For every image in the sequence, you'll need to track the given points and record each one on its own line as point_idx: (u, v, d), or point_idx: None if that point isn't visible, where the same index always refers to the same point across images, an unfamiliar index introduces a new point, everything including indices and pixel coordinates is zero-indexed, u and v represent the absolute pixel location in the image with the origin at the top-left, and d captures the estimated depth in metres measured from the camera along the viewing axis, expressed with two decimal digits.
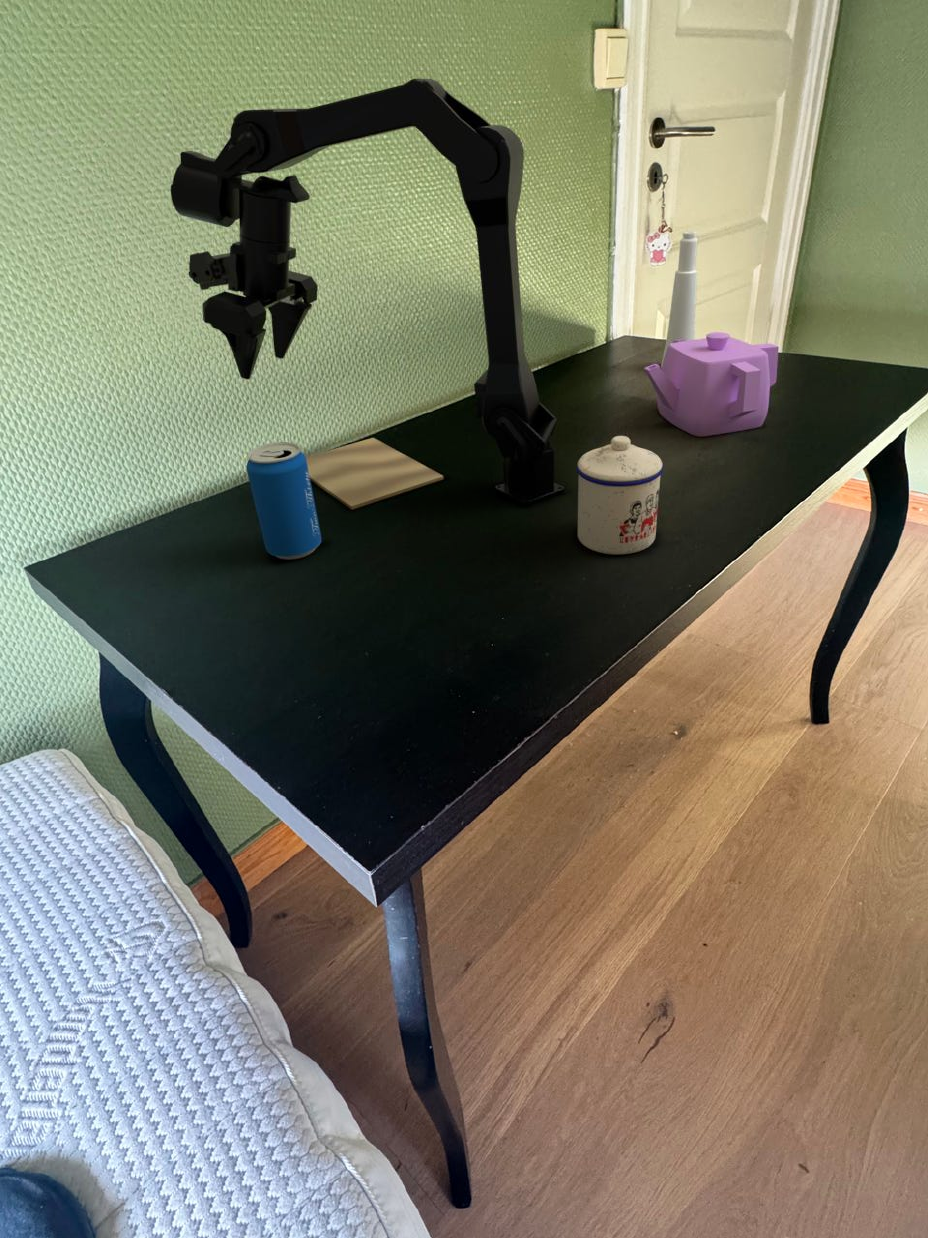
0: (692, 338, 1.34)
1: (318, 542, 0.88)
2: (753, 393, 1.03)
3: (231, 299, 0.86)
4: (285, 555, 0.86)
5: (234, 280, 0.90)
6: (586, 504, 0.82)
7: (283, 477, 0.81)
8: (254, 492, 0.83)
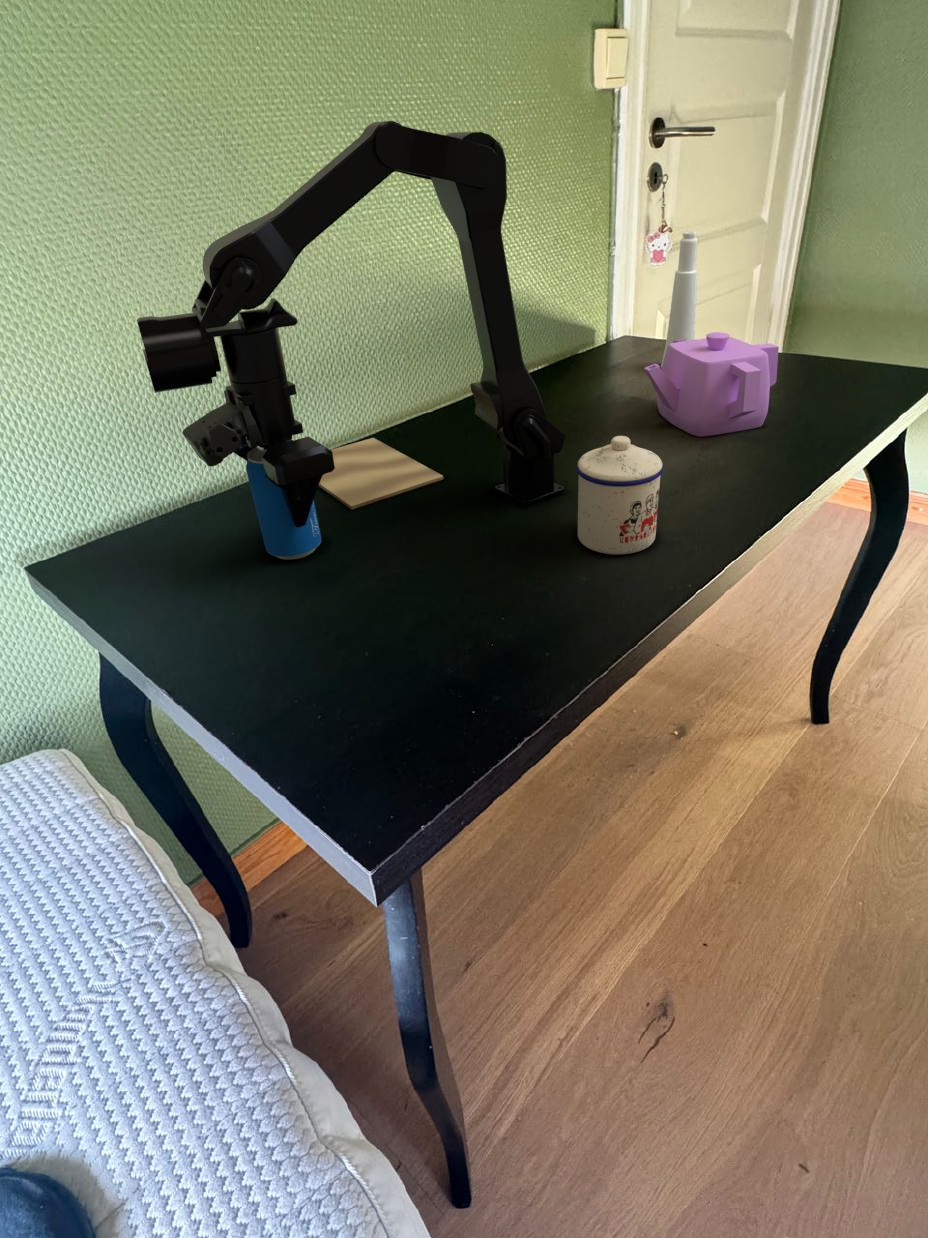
0: (692, 338, 1.34)
1: (318, 542, 0.88)
2: (753, 393, 1.03)
3: (296, 447, 0.75)
4: (285, 555, 0.86)
5: (256, 434, 0.77)
6: (586, 504, 0.82)
7: None
8: (254, 492, 0.83)
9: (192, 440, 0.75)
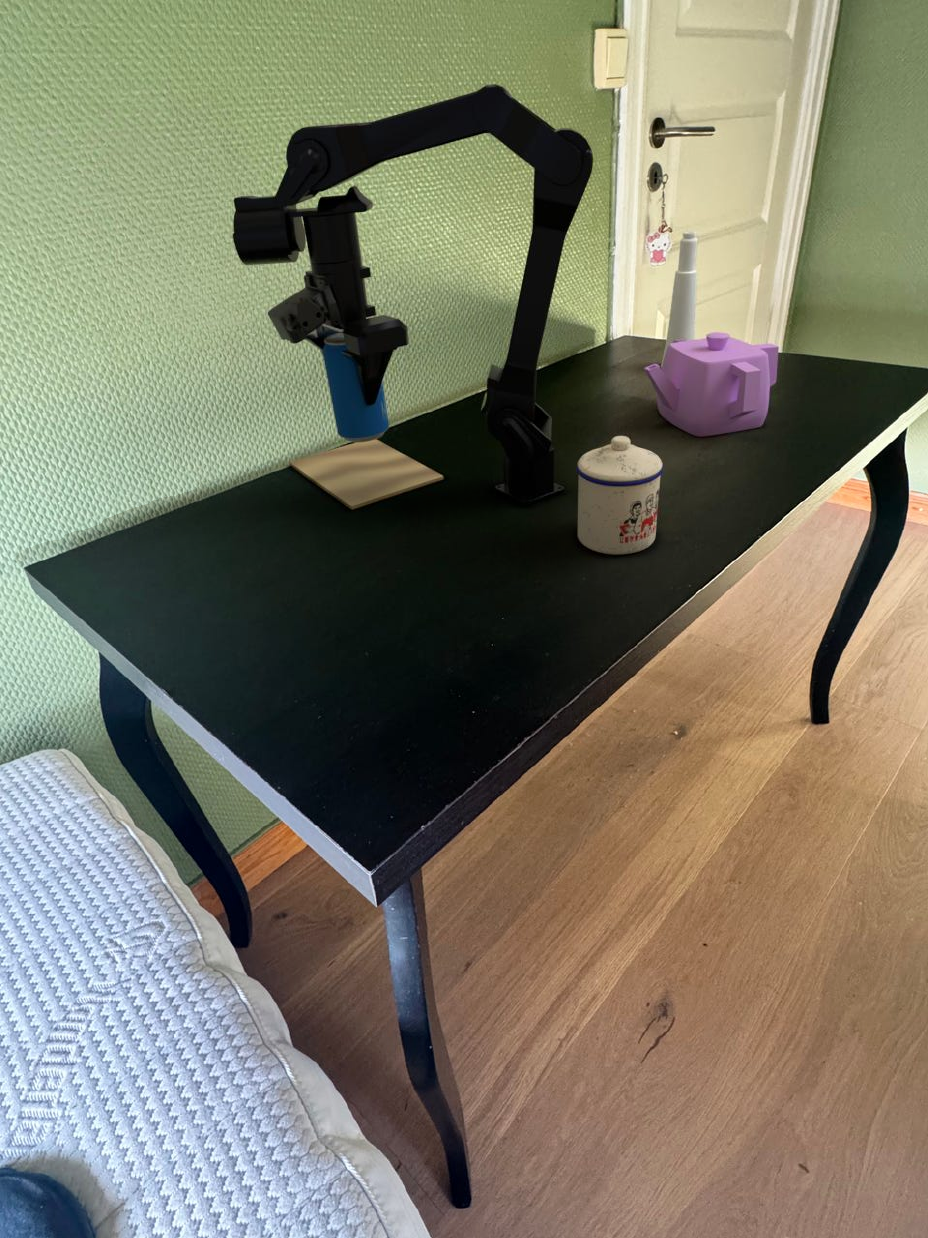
0: (692, 338, 1.34)
1: (387, 426, 0.94)
2: (753, 393, 1.03)
3: (374, 321, 0.82)
4: (358, 437, 0.93)
5: (336, 313, 0.84)
6: (586, 505, 0.82)
7: None
8: (330, 375, 0.90)
9: (279, 317, 0.82)
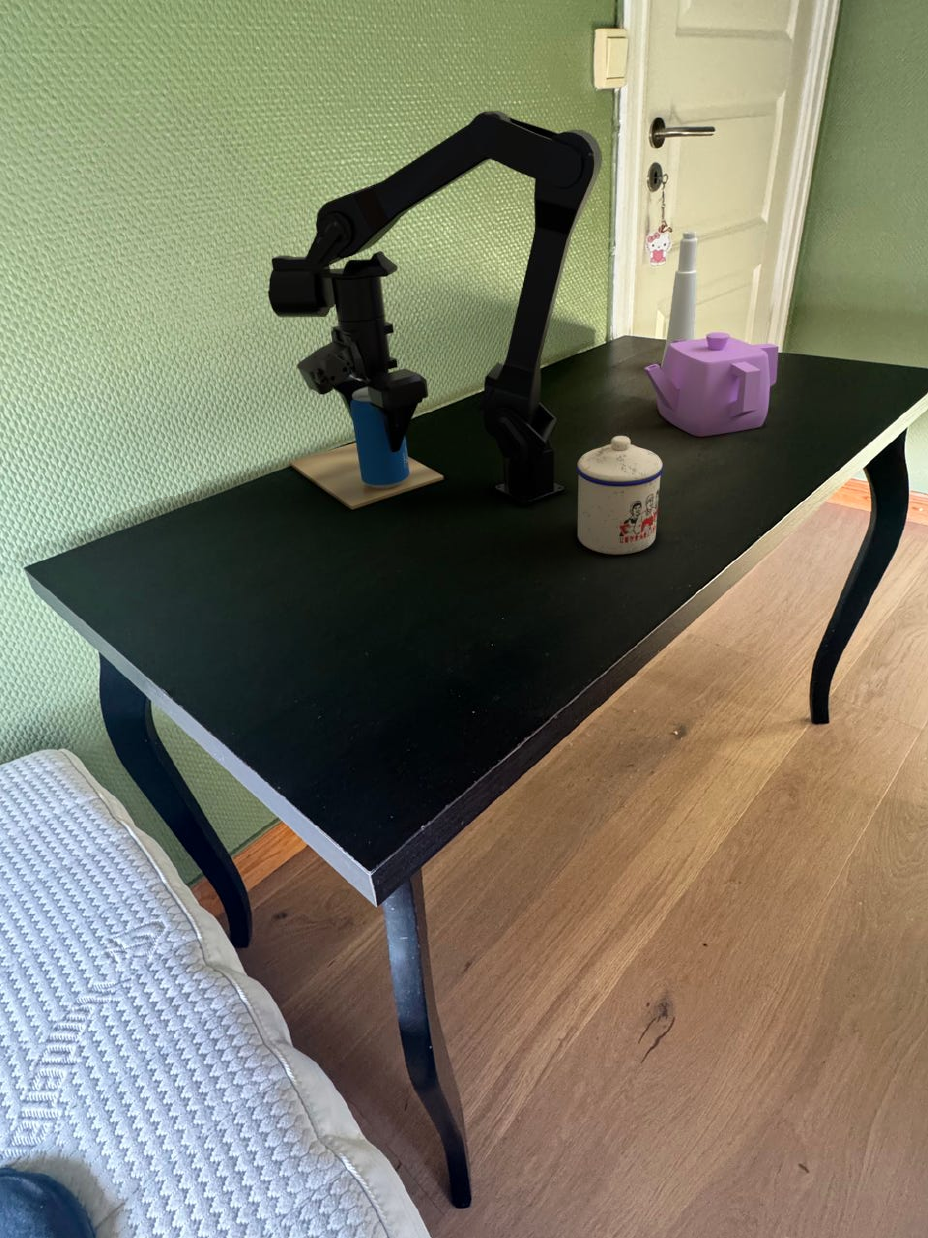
0: (692, 338, 1.34)
1: (407, 474, 1.01)
2: (753, 393, 1.03)
3: (396, 376, 0.88)
4: (380, 484, 0.99)
5: (361, 366, 0.90)
6: (586, 504, 0.82)
7: None
8: (357, 428, 0.96)
9: (308, 371, 0.89)
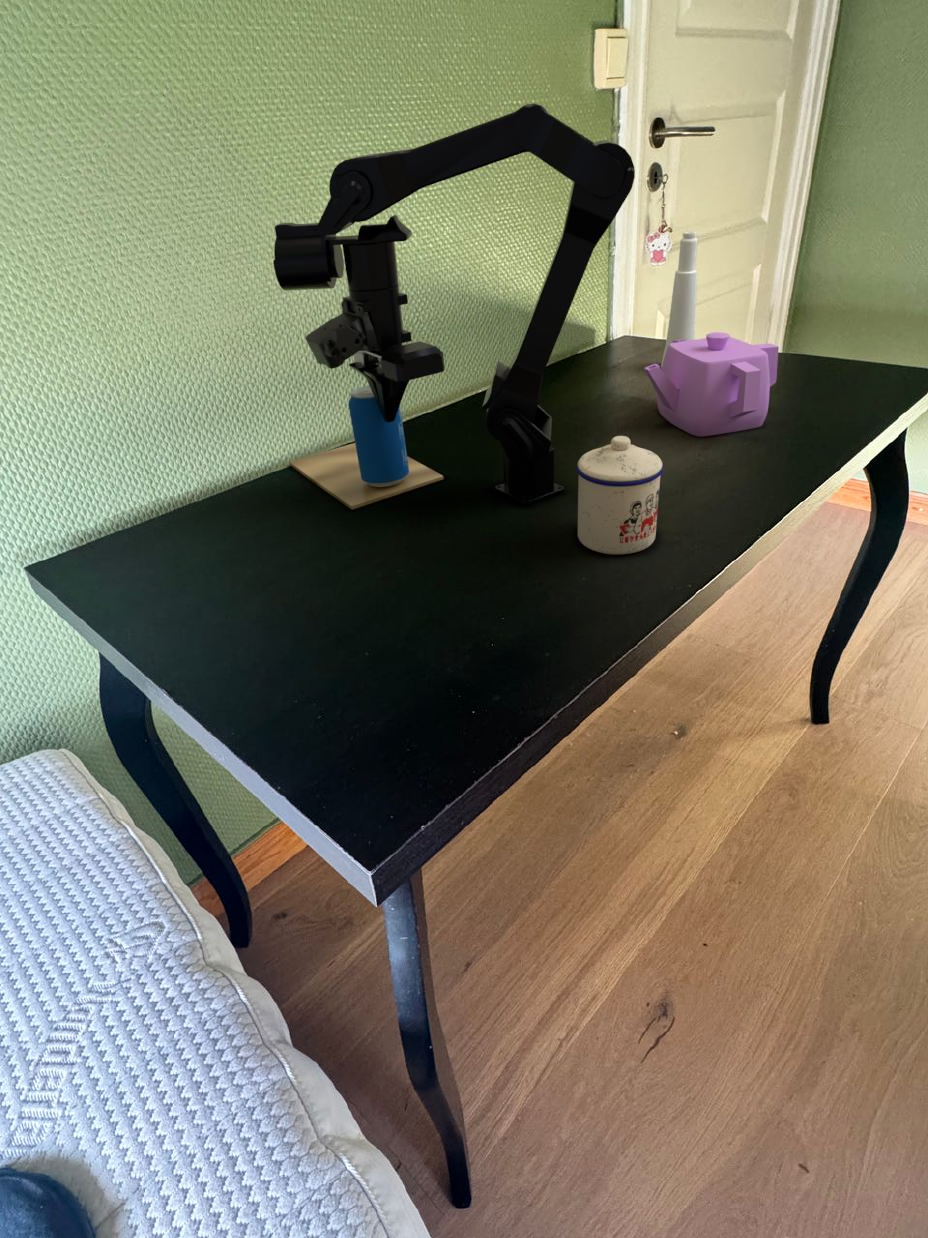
0: (692, 338, 1.34)
1: (407, 472, 1.01)
2: (753, 393, 1.03)
3: (412, 348, 0.83)
4: (380, 482, 0.99)
5: (373, 339, 0.85)
6: (586, 504, 0.82)
7: None
8: (355, 425, 0.97)
9: (318, 342, 0.83)
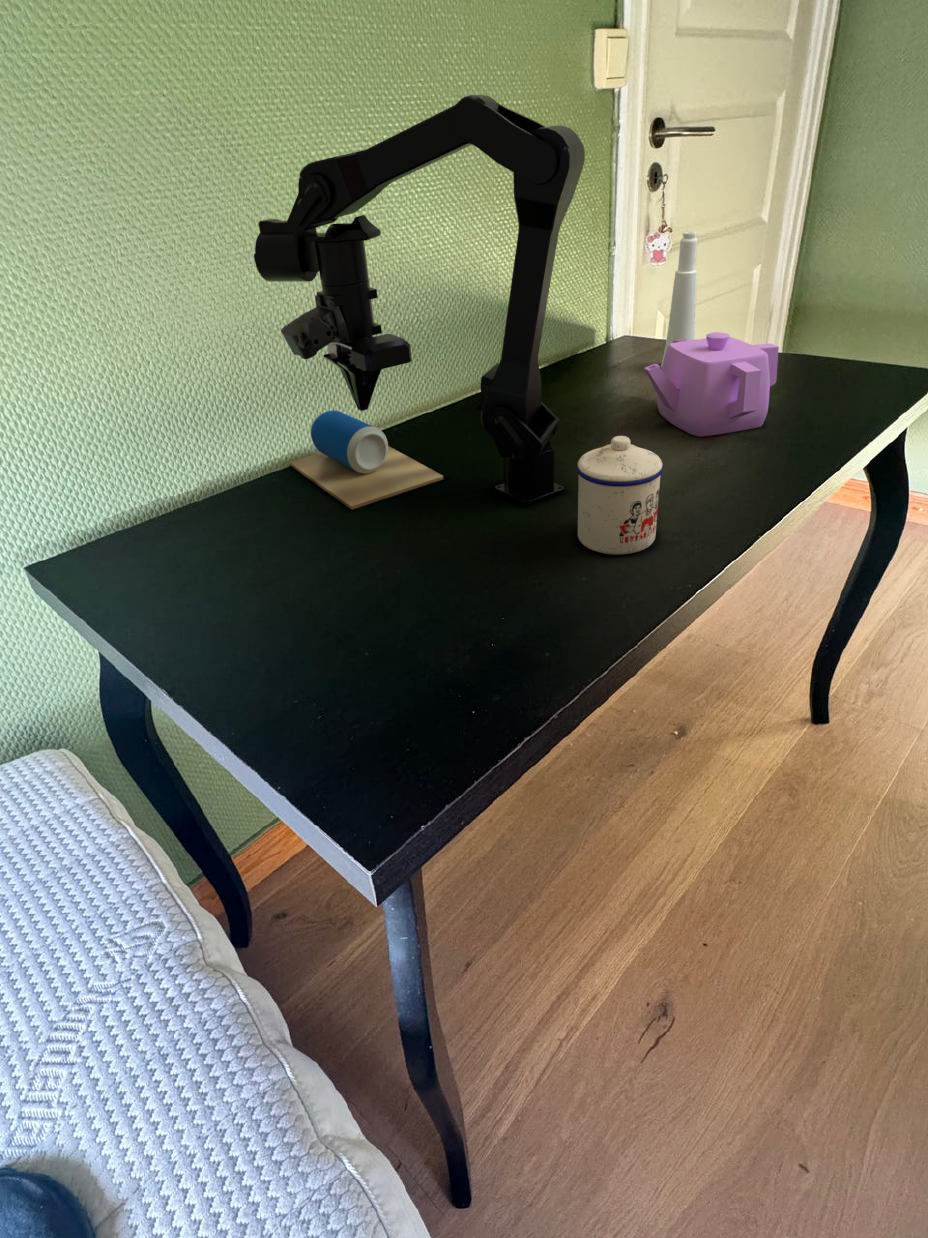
0: (692, 338, 1.34)
1: None
2: (753, 393, 1.03)
3: (380, 340, 0.89)
4: (351, 437, 1.01)
5: (344, 331, 0.91)
6: (586, 504, 0.82)
7: (326, 413, 1.08)
8: (320, 441, 1.07)
9: (292, 334, 0.89)
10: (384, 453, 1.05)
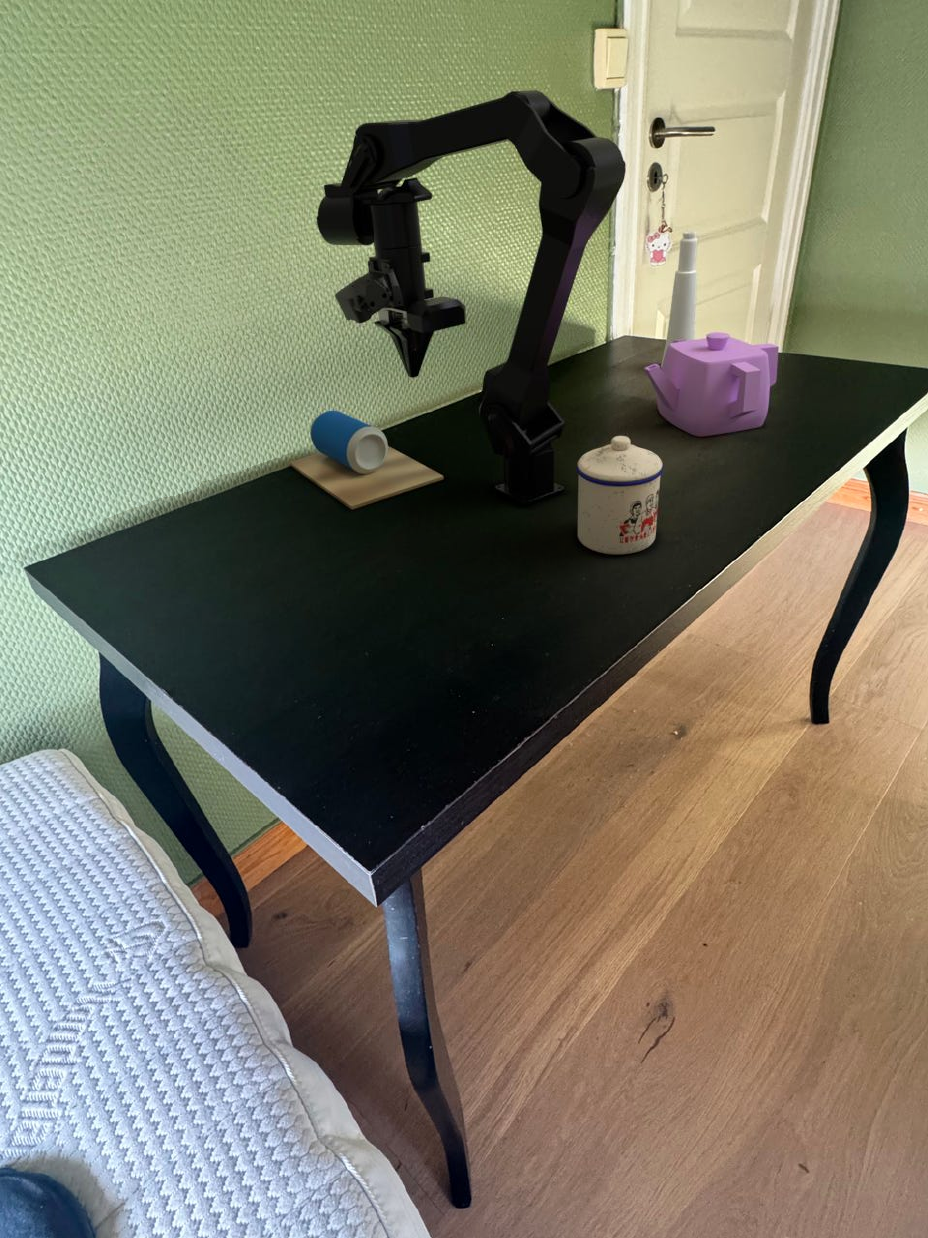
0: (692, 338, 1.34)
1: None
2: (753, 393, 1.03)
3: (435, 301, 0.89)
4: (350, 437, 1.01)
5: (399, 294, 0.91)
6: (586, 504, 0.82)
7: (325, 413, 1.08)
8: (320, 442, 1.07)
9: (347, 298, 0.89)
10: (384, 453, 1.05)
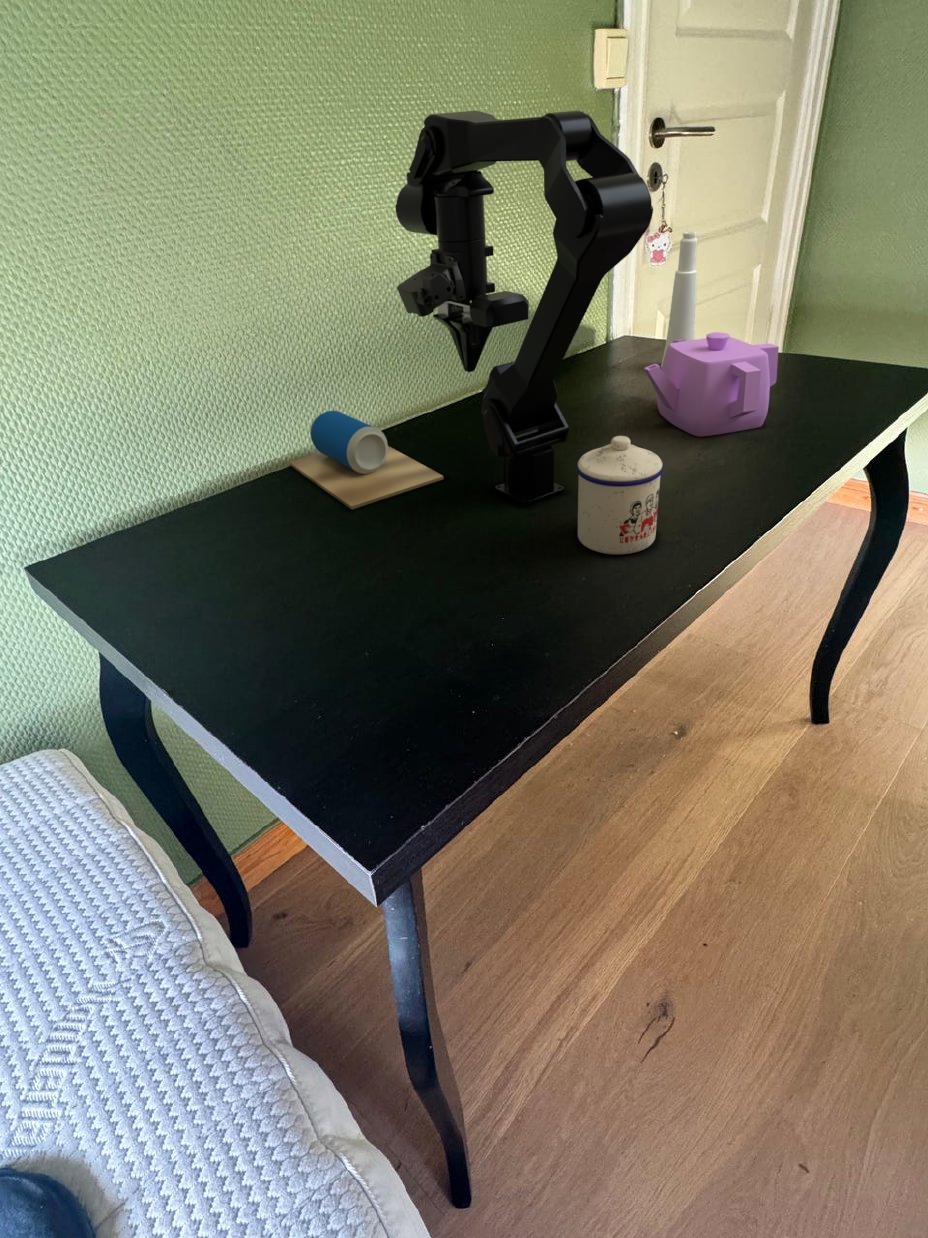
0: (692, 338, 1.34)
1: None
2: (753, 393, 1.03)
3: (500, 296, 0.88)
4: (350, 437, 1.01)
5: (461, 288, 0.90)
6: (586, 504, 0.82)
7: (325, 413, 1.08)
8: (320, 442, 1.07)
9: (411, 291, 0.88)
10: (384, 453, 1.05)
